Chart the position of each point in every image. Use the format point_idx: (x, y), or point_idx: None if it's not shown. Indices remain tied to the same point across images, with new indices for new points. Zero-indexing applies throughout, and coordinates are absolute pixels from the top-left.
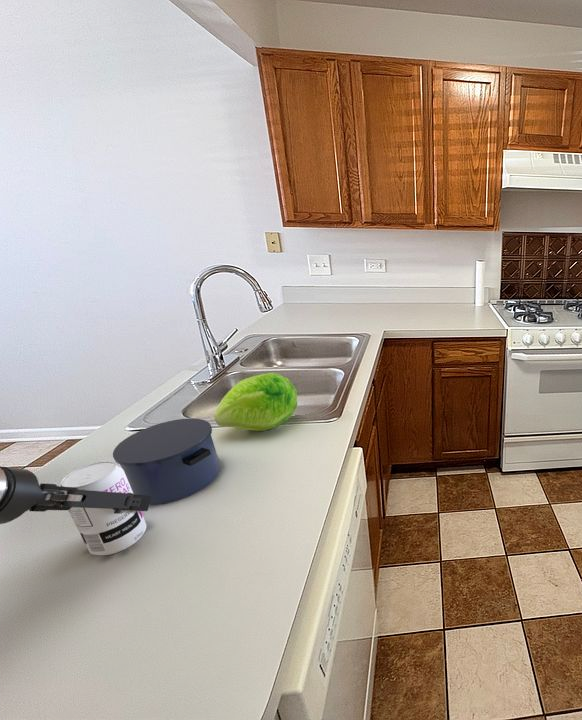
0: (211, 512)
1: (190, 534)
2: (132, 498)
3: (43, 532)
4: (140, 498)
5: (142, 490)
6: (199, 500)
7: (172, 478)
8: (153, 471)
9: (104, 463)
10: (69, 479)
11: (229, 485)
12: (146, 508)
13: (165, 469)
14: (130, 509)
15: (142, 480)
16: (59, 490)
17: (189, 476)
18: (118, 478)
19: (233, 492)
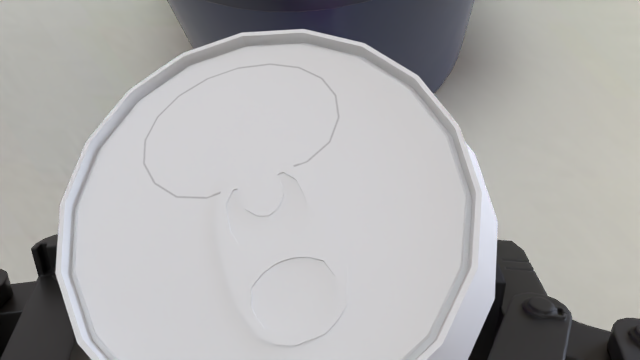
0: (593, 181)
1: (603, 297)
2: (539, 290)
3: (22, 257)
4: (521, 251)
5: None
6: (489, 120)
7: (417, 49)
8: (366, 29)
9: (273, 52)
10: (119, 270)
11: (548, 48)
12: None
13: (413, 14)
14: None
15: None
16: (44, 258)
17: (456, 30)
18: (488, 202)
19: (596, 82)
